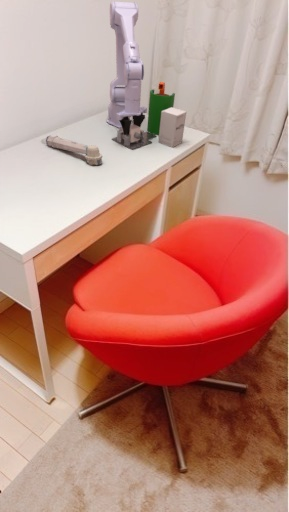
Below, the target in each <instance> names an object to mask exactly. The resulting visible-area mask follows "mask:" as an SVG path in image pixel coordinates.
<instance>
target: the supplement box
mask: <svg viewBox="0 0 289 512" xmlns="http://www.w3.org/2000/svg"><path fill="white" fill-rule="evenodd" d="M186 116H187V111H186V110H182V109H179V108H175V107H174V106H173V107H171V108H168V109H166V110H163V111H161V121H160V130H159V135H158V140H157V141H158V143H159V144H163V145H164V146H168V147H169V148H174V147H175V146H177V145H179V144H182V143H183V138H184V131H185V126H186V125H185V123H186V119H187V118H186Z"/></svg>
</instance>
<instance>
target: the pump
mask: <svg viewBox="0 0 289 512" xmlns="http://www.w3.org/2000/svg"><path fill="white" fill-rule="evenodd" d="M141 128H142V127H139V126H136V125H134V124H131V126H130V132H129V135H130V143H132V142H135V141H138V140H140V137H141V134H140V131H141V130H142V129H141ZM122 132H123V130H122ZM123 139H124V133H123Z"/></svg>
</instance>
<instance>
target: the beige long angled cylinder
mask: <svg viewBox="0 0 289 512" xmlns="http://www.w3.org/2000/svg"><path fill="white" fill-rule="evenodd" d="M45 143H46V145H47V146H48V147H51V148H53V149H55V150H56V149H59V150H64V151H69V152H74V153H76V154H77V153H78V154H82V155H85V156H84V157H85V159H86V163H87V164H88V165H90V166H93V165H95V166H100V165H102V163H103V160H102V158H103V154H102V153H100V149H99V147H98V146H97V145H86V144H83V143H79V142H76V141H73V140H68V139H66V138H63V137H59V136H58V135H55V136H54V135H48V136H46V138H45Z"/></svg>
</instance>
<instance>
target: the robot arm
mask: <svg viewBox="0 0 289 512" xmlns="http://www.w3.org/2000/svg"><path fill="white" fill-rule="evenodd" d="M138 19H139V6H138V3H137V2H135V1H134V2H126V1H114V0H111V2H110V4H109V25H110V28H111V29H112V30H113V31H114V33H115V53H116V55H115V56H116V57H115V58H116V59H115V60H116V78H114V79H113V80H112V81H111V82H110V85H109V86H110V87H109V98H110V99H109V100H110V102H109V105H108V106H107V107H108V110H107V111H108V113H107V114H108V116H107V117H108V118H107V119H108V120H107V121H106V123H107V124H109V125H112V126H114V127H116V128H119V129H120V127H122V128H123V133H124V135H125V134H128V135H129V132H130V126H131V124H134V125H136V126H139V127H141V126H142V124H143V122H144V120H145V119H146V115H145V114H148V107H146V106H141V97H142V96H141V95H142V94H141V93H142V81H143V80H144V77H145V66H144V63H143V60H142V59H141V56H140V55H141V53H140V48H139V44H138V43H137V42H136V40H135V26H136V24H137V21H138ZM131 117H132V119H131ZM141 128H142V127H141Z"/></svg>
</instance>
